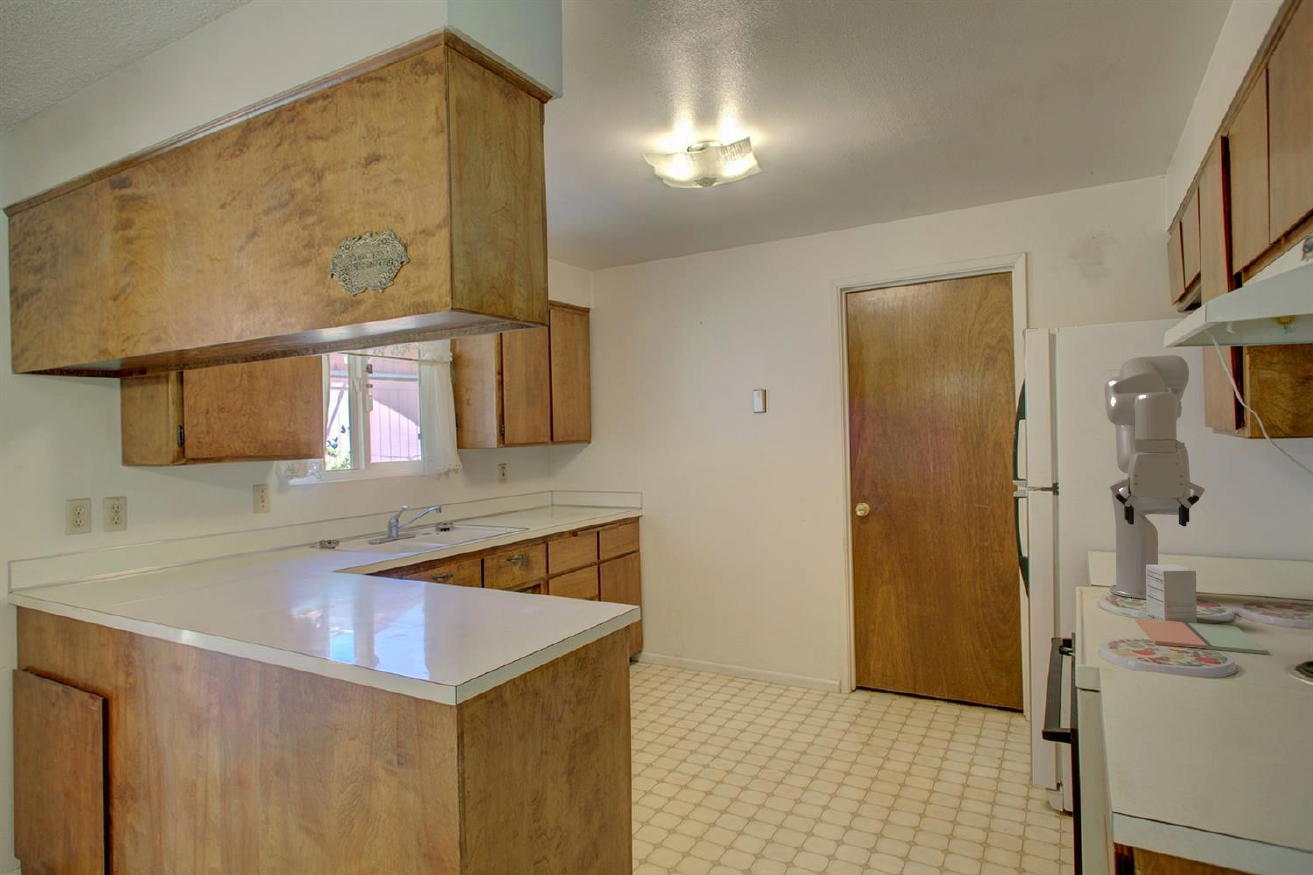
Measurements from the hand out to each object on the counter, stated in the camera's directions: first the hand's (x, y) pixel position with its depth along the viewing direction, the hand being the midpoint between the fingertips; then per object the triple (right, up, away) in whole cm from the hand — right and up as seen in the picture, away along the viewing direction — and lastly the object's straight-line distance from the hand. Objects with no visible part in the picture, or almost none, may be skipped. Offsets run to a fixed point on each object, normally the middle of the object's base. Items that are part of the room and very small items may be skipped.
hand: (1156, 524), depth 155 cm
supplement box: (+12, -25, +12) cm, 30 cm away
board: (+8, -25, -1) cm, 26 cm away
